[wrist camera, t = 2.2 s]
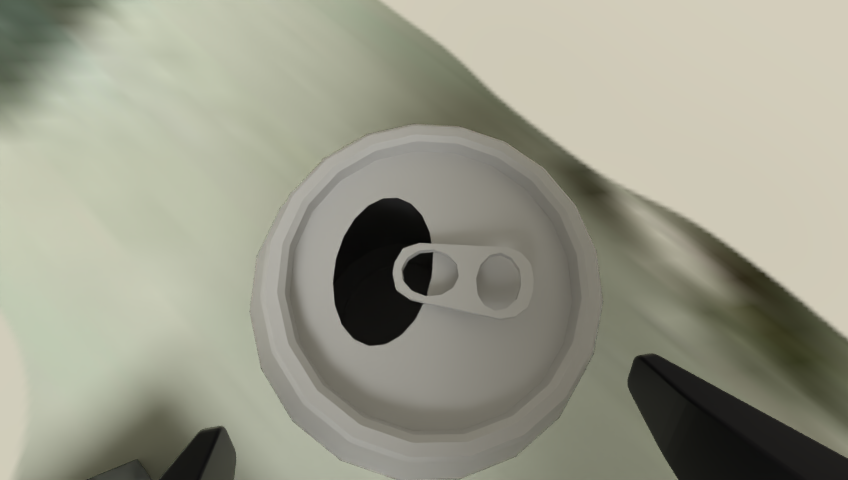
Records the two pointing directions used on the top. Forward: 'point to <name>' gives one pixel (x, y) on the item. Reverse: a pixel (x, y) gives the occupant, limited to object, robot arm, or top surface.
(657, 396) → the robot arm
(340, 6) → the top surface
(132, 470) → the tray
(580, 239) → the can
